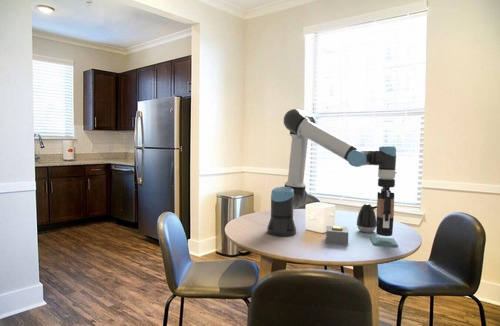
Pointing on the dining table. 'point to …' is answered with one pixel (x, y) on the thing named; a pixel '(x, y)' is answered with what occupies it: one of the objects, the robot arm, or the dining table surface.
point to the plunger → (337, 228)
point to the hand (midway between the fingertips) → (384, 225)
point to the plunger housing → (337, 236)
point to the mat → (383, 241)
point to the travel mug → (379, 218)
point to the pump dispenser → (366, 219)
